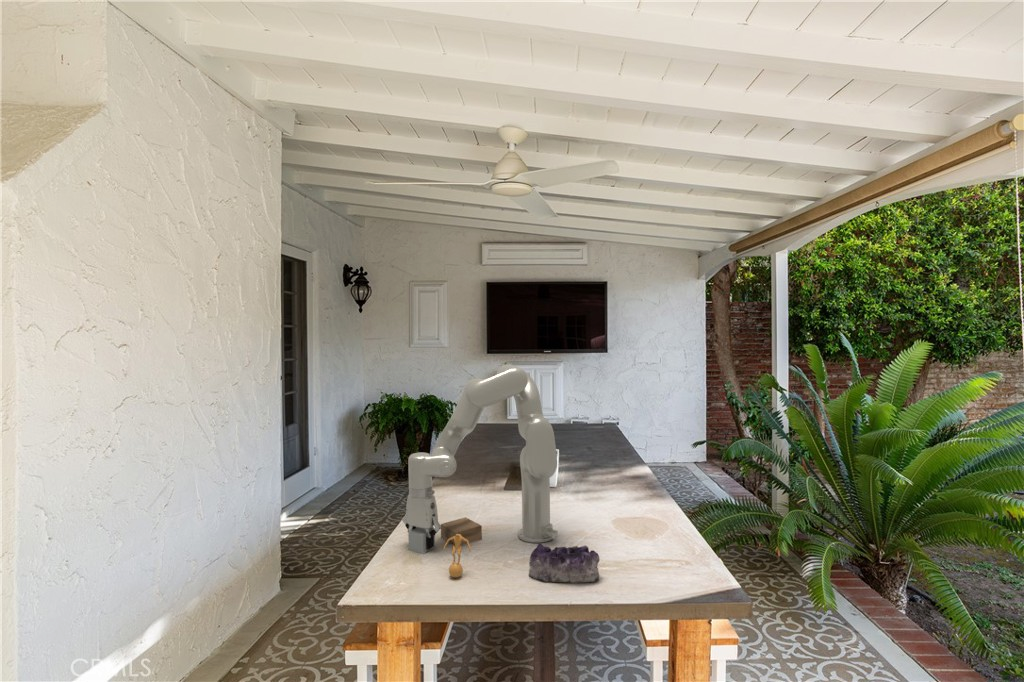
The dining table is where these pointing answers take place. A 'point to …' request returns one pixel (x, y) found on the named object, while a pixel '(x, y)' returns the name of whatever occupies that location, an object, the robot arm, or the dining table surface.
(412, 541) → the slate block
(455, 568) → the figurine
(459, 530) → the walnut block
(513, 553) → the dining table surface
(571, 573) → the geode
